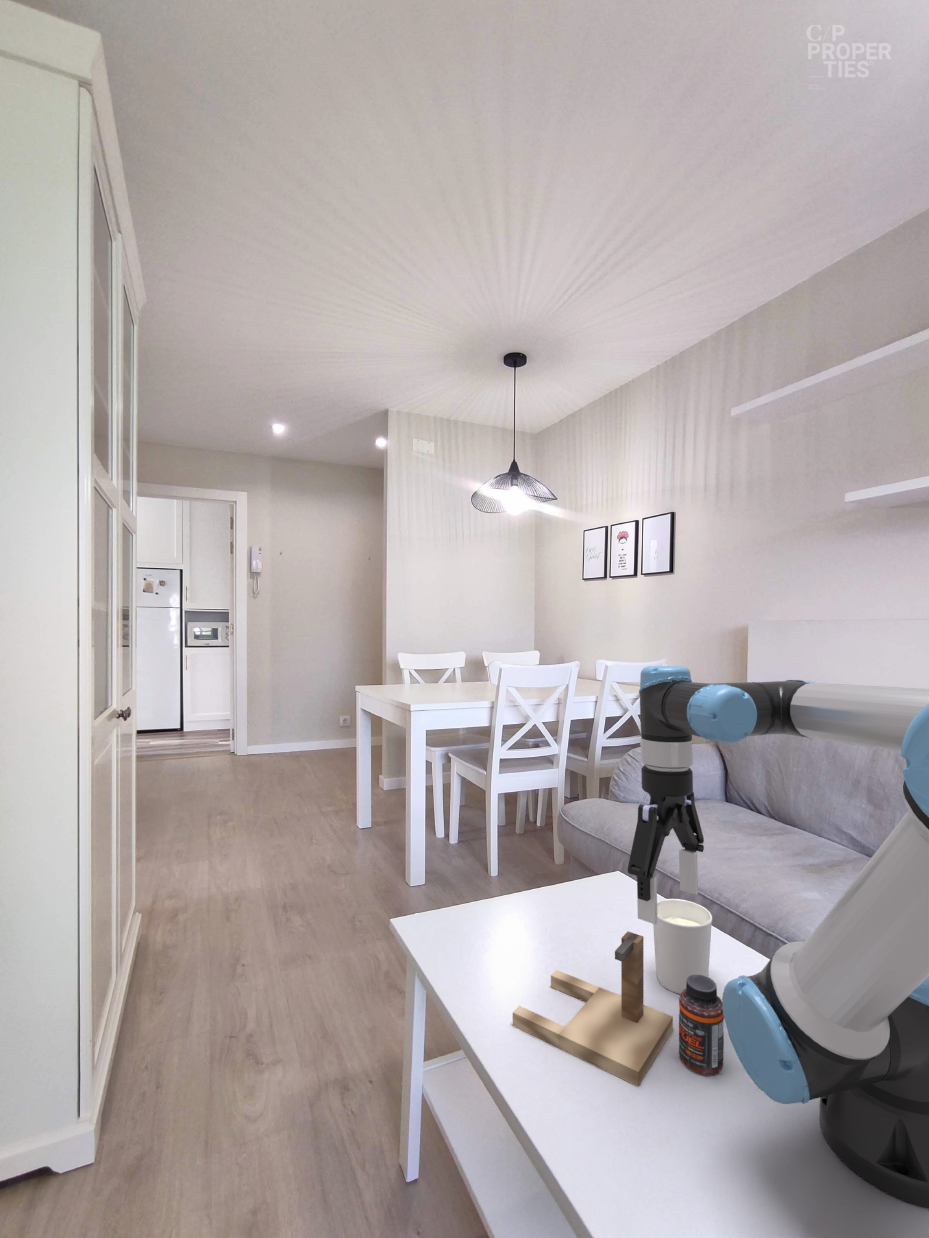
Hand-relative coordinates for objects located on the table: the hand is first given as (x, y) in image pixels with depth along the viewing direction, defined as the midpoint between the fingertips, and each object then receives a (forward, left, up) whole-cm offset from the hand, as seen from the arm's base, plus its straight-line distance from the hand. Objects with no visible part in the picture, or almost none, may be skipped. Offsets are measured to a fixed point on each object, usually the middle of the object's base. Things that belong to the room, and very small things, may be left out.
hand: (669, 905), depth 92 cm
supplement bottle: (-7, 0, -19) cm, 20 cm away
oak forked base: (+3, +11, -19) cm, 22 cm away
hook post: (0, +7, -17) cm, 18 cm away
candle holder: (+10, -9, -19) cm, 23 cm away
